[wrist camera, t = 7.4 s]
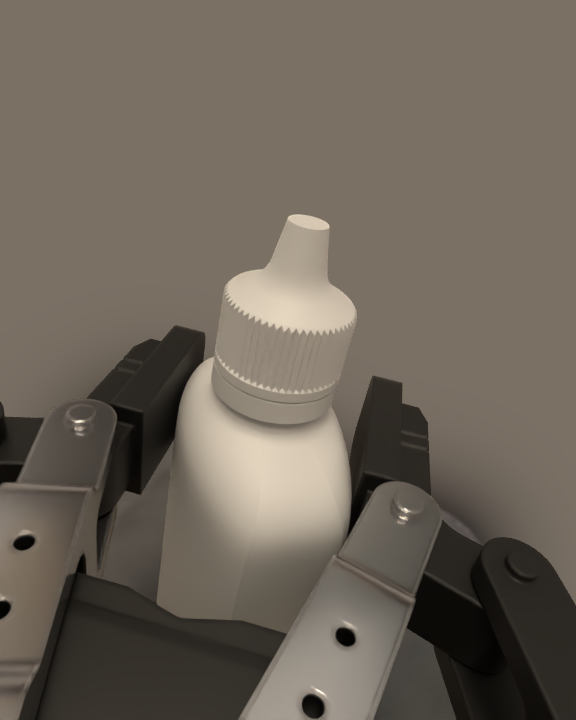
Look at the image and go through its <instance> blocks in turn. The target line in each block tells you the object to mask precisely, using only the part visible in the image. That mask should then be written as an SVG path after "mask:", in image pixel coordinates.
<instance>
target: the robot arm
mask: <svg viewBox="0 0 576 720" xmlns="http://www.w3.org/2000/svg"><path fill="white" fill-rule="evenodd" d="M204 349H205V333H204V332H201V331H197V330H193V329H189V328H185V327H181V326H177V325H176V326H174V327H173V328H172V329H171V331H170V332H169V333H168V334H167V335H166V336H165V338H164V339H163V340H162V341H158V340H153V339H149V340H147V341H145V342H143V343H141V344H139V345H136V346H134V347H133V348H132V349H131V351H129V353H128V354H127V355H126V356H125V357H124V359H123V360H121V361H120V362H119V363H118V365H117V366H116V367H115V370H114V369H113V370H112V371H111V372H110V373H109V374H108V375H107V376H106V378H105V379H104V380H103V381H102V382H101V383H100V384H99V385H98V386H97V387H96V389H95V390H94V391H93V392H92V393H91V394H90V395H89V396H88V397H87V398H86V399H75V400H70V401H66V402H63V403H61V404H59V405H57V406H55V407H54V408H52V409H51V410H50V411H49V412H48V413H47V415H46V416H45V418H23V417H5V416H4V409H3V405H2V404H1V402H0V720H373V719H374V716H375V713H376V710H377V708H378V705H379V702H380V699H381V696H382V694H383V691H384V688H385V685H386V683H387V680H388V677H389V674H390V672H391V669H392V666H393V663H394V660H395V658H396V655H397V652H398V649H399V647H400V644H401V641H402V638H403V636H404V633H405V630H406V628H408V629H409V630H411V631H412V632H414V633H416V634H417V635H419V636H420V637H422V638H423V639H425V640H427V641H428V642H430V643H431V644H433V645H434V651H435V655H436V658H437V661H438V664H439V667H440V670H441V673H442V676H443V679H444V682H445V685H446V688H447V691H448V694H449V698H450V701H451V704H452V707H453V710H454V713H455V716H456V719H457V720H576V605H575V603H574V602H573V600H572V598H571V597H570V595H569V593H568V591H567V590H566V588H565V586H564V585H563V583H562V581H561V580H560V578H559V576H558V574H557V573H556V571H555V569H554V568H553V567H552V565H551V564H550V563H549V561H548V560H547V559H546V558H545V557H544V556H543V555H542V554H541V553H539V552H538V551H537V550H535V549H534V548H532V547H531V546H529V545H527V544H525V543H523V542H521V541H518V540H515V539H512V538H505V537H501V538H494V539H492V540H489V541H488V542H487V543H486V544H485V545H484V547H483V546H481V545H480V544H478V543H476V542H474V541H472V540H470V539H468V538H467V537H465V536H463V535H461V534H460V533H458V532H456V531H455V530H453V529H452V528H451V527H449V526H448V525H447V524H446V523H445V522H444V521H443V520H442V514H441V510H440V508H439V506H438V505H437V503H436V501H434V499H433V498H432V497H431V486H430V465H429V452H428V451H429V442H428V422H427V421H426V419H425V417H424V416H423V414H422V413H421V411H420V409H419V408H418V407H414V406H410V405H406V404H402V383H401V382H397V381H393V380H389V379H385V378H381V377H377V376H372V379H371V381H370V385H369V388H368V391H367V394H366V398H365V401H364V404H363V407H362V411H361V414H360V417H359V420H358V424H357V427H356V431H355V435H354V439H353V444H352V449H351V456H350V463H349V465H350V474H351V492H352V498H351V517H350V523H349V529H348V534H347V539H346V542H345V543H344V545H343V547H342V549H341V550H340V552H339V554H338V555H336V554H334V555H333V556H332V558H331V559H330V561H329V562H328V564H327V566H326V567H325V569H324V571H323V573H322V574H321V576H320V578H319V580H318V581H317V583H316V585H315V587H314V588H313V590H312V592H311V594H310V595H309V597H308V599H307V600H306V602H305V604H304V606H303V607H302V609H301V611H300V613H299V614H298V616H297V618H296V620H295V621H294V623H293V625H292V627H291V628H290V630H289V632H288V634H286V633H283V632H279V631H276V630H273V629H269V628H266V627H262V626H259V625H256V624H252V623H249V622H246V621H242V620H217V619H191V618H180V617H177V616H175V615H173V614H172V613H170V612H168V611H167V610H165V609H163V608H162V607H160V606H159V605H157V604H155V603H154V602H152V601H150V600H149V599H147V598H146V597H144V596H142V595H141V594H139V593H138V592H136V591H134V590H133V589H131V588H129V587H127V586H124V585H120V584H117V583H113V582H110V581H107V580H103V579H102V577H103V572H104V568H105V563H106V559H107V554H108V550H109V545H110V541H111V536H112V532H113V528H114V523H115V519H116V514H117V502H118V501H119V499H120V498H121V496H122V495H123V493H124V491H125V490H126V491H129V492H133V493H136V494H140V495H141V493H142V491H143V490H144V488H145V486H146V485H147V483H148V481H149V480H150V478H151V476H152V475H153V473H154V471H155V470H156V468H157V466H158V465H159V463H160V462H161V460H162V458H163V457H164V455H165V453H166V452H167V450H168V448H169V447H170V445H171V443H172V442H173V440H174V438H175V430H176V422H177V416H178V410H179V405H180V401H181V397H182V394H183V391H184V389H185V386H186V384H187V382H188V380H189V378H190V377H191V375H192V373H193V372H194V371H195V370H196V368H197V367H198V366H199V365H200V364H201V363H203V358H204Z"/></svg>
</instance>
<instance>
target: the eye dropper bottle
mask: <svg viewBox="0 0 576 720" xmlns="http://www.w3.org/2000/svg"><path fill="white" fill-rule="evenodd" d="M328 243H329V225H328V223H326V222H325V221H323V220H321V219H318V218H315V217H312V216H307V215H291V216H289V217H288V219H287V222H286V224H285V227H284V229H283V231H282V234H281V236H280V239H279V241H278V244H277V247H276V249H275V251H274V254H273V256H272V258H271V260H270V262H269V264H268V265H267V266H266V267H265V268H264V269H259V270H252V271H247V272H244V273H241V274H239V275H237V276H236V277H234V278H233V279H231V280H230V281H229V282H228V283H227V285H226V286H225V288H224V293H223V300H222V307H221V313H220V320H219V327H218V334H217V341H216V348H215V354H214V357H212V358H209V359H208V360H206V361H204V362H203V363H201V364H200V365H199V366H198V367H197V368H196V370H195V371H194V372H193V373H192V375H191V377H190V378H189V380H188V382H187V384H186V386H185V389H184V391H183V394H182V397H181V401H180V405H179V410H178V416H177V422H176V430H175V439H174V447H173V456H172V465H171V474H170V483H169V492H168V501H167V510H166V519H165V528H164V538H163V547H162V556H161V565H160V574H159V584H158V593H157V605H159V606H160V607H162V608H163V609H165V610H167V611H168V612H170V613H172V614H173V615H175V616H177V617H180V618H191V619H217V620H242V621H246V622H249V623H252V624H256V625H259V626H262V627H266V628H269V629H273V630H276V631H279V632H283V633H286V634H288V632H289V630H290V628H291V627H292V625H293V623H294V621H295V620H296V618H297V616H298V614H299V613H300V611H301V609H302V607H303V606H304V604H305V602H306V600H307V599H308V597H309V595H310V594H311V592H312V590H313V588H314V587H315V585H316V583H317V581H318V580H319V578H320V576H321V574H322V573H323V571H324V569H325V567H326V566H327V564H328V562H329V561H330V559H331V558H332V556H333V555H334V554H336V555H338V554H339V552H340V550H341V549H342V547H343V545H344V543H345V542H346V539H347V534H348V529H349V523H350V517H351V498H352V492H351V474H350V465H349V460H348V454H347V449H346V445H345V442H344V438H343V434H342V431H341V428H340V425H339V423H338V420H337V418H336V415H335V413H334V411H333V409H332V407H331V404H332V401H333V398H334V395H335V391H336V388H337V385H338V381H339V378H340V374H341V371H342V368H343V364H344V361H345V357H346V354H347V351H348V348H349V344H350V341H351V338H352V334H353V331H354V327H355V324H356V321H357V311H356V309H355V307H354V305H353V303H352V302H351V300H350V299H349V298H348V297H347V296H346V295H345V294H344V293H343V292H342V291H340V290H339V289H337V288H336V287H334V286H333V285H331V284H330V283H329V280H328V277H327V264H328V263H327V262H328Z"/></svg>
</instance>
